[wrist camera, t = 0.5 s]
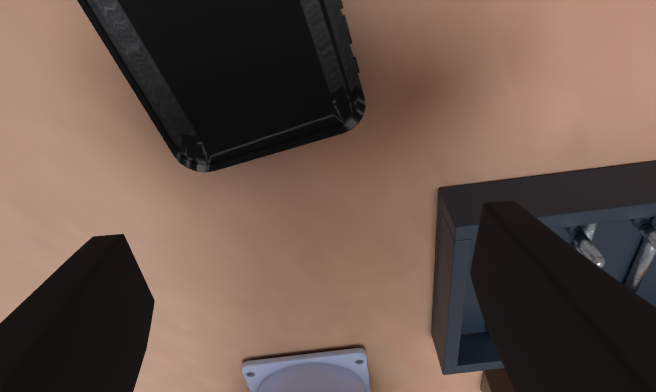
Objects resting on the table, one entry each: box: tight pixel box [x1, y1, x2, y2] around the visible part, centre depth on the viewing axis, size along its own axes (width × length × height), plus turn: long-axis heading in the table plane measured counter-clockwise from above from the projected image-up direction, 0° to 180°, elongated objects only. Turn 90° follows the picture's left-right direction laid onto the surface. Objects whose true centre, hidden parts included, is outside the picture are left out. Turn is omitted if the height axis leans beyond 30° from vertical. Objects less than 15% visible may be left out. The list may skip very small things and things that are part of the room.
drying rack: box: [432, 161, 656, 375], centre depth 23 cm, size 12×18×4 cm, turn 97°
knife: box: [481, 368, 515, 392], centre depth 30 cm, size 3×12×3 cm, turn 97°
